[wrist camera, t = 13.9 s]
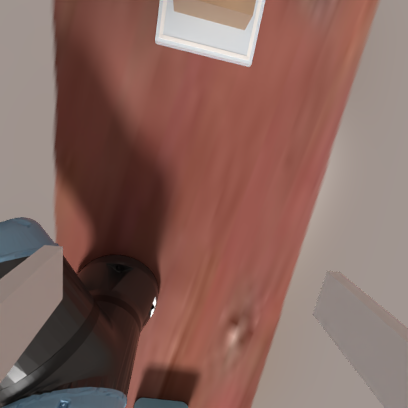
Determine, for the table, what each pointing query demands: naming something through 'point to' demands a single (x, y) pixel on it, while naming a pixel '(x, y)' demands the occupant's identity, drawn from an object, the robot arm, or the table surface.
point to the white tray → (211, 27)
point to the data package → (158, 403)
